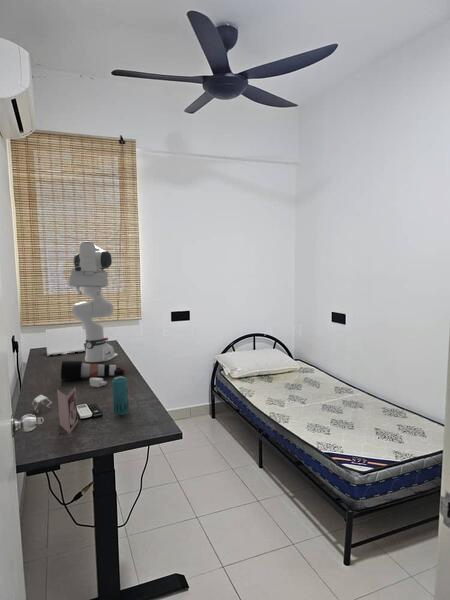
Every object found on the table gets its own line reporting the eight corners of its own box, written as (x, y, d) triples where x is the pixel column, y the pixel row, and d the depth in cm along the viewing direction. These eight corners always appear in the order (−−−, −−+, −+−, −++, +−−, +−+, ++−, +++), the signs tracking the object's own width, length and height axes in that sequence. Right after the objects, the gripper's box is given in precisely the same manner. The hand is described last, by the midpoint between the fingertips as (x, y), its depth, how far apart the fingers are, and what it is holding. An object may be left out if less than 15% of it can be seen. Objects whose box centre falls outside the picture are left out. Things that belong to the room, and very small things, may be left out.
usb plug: (88, 385, 212) (88, 379, 212) (93, 383, 216) (92, 377, 215) (103, 387, 208) (102, 381, 208) (107, 385, 212) (107, 378, 211)
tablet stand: (47, 351, 293) (45, 329, 291) (83, 347, 303) (81, 325, 301) (47, 357, 277) (45, 333, 275) (85, 352, 287) (83, 329, 285)
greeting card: (71, 433, 155) (69, 396, 153) (52, 434, 155) (49, 397, 153) (80, 421, 166) (77, 386, 165) (61, 422, 166) (58, 387, 164)
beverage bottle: (115, 419, 167) (112, 373, 165) (112, 414, 173) (109, 368, 171) (130, 416, 170) (128, 370, 167) (128, 411, 176) (125, 366, 174)
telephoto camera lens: (124, 382, 230) (126, 369, 225) (61, 383, 220) (60, 369, 215) (124, 370, 238) (125, 357, 233) (63, 370, 229) (62, 357, 223)
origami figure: (54, 409, 180) (53, 399, 180) (33, 414, 176) (32, 403, 176) (49, 401, 191) (49, 391, 190) (30, 405, 186) (29, 395, 186)
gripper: (106, 271, 228) (107, 295, 226) (67, 270, 218) (68, 295, 216) (108, 269, 223) (110, 293, 221) (69, 267, 212) (70, 293, 210)
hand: (89, 294), depth 218 cm, fingers open, 8 cm apart
